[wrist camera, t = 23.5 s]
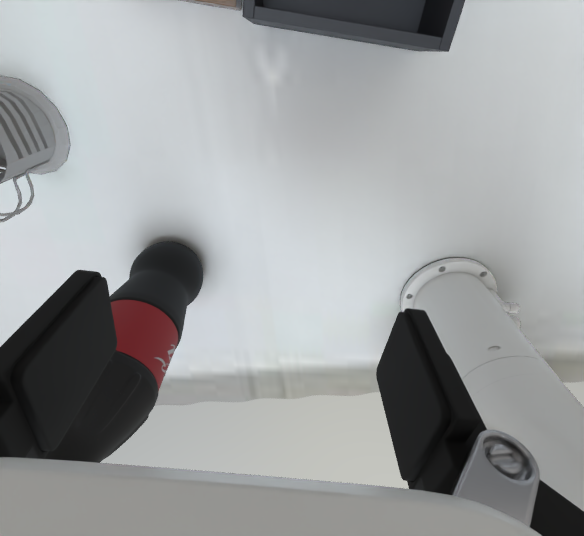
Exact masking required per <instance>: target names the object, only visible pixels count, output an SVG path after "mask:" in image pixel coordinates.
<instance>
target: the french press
mask: <svg viewBox="0 0 584 536" xmlns="http://www.w3.org/2000/svg"><path fill="white" fill-rule="evenodd" d="M69 148H70V141H69V135H68V129H67V126H66V124H65V122H64V120H63V119H62V117H61V115H60V113H59V111H58V109H57V108H56V107H55V106H54V105H53V104H52V103H51V102H50V101H49V100H48V99H47V98H46V97H45V95H44V94H43V93H42V92H41V91H39V90H38V89H36V88H34V87H32V86H30V85H29V84H27V83H25V82H23V81H21V80H20V79H15V78H9V77H3V76H0V167H5V168H6V170H4V169H0V172H2V173H0V184H1V183H3V182H5V181H7V180H10V179H12V178H13V181H14V184H15V187H16V190H17V193H18V199H19V203H18V205H17V208H16V210H15V211H14V212H12V213H5V214H1V213H0V216H7V217H5V218H4V219H0V222H5V221H6V220H8V219H10V218H12V217H13V216H15V215H17V214H20V213H21V212H23V211H24V210H25V209H27V208H28V207H29V206H30V205H31V203H32V201H33V197H34V190H33V185H32V182H31V180H30V177H29V175H28V173H35V174H45V173H49V172H53V171H56V170H57V169H58V168H59V167H60V166H61V165H62V164H63V163H64V162H65V161H66V160H67V156H68V152H69ZM24 175H26V178H27V180H28V183H29V186H30V190H31V197H30V200H29V202H28V203H27V204H26V206H25V207H24V208H22V209H20V206H21V204H22V197H21V192H20V189H19V187H18V185H17V182H16V179H18V178H20V177H22V176H24ZM19 209H20V210H19Z"/></svg>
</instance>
